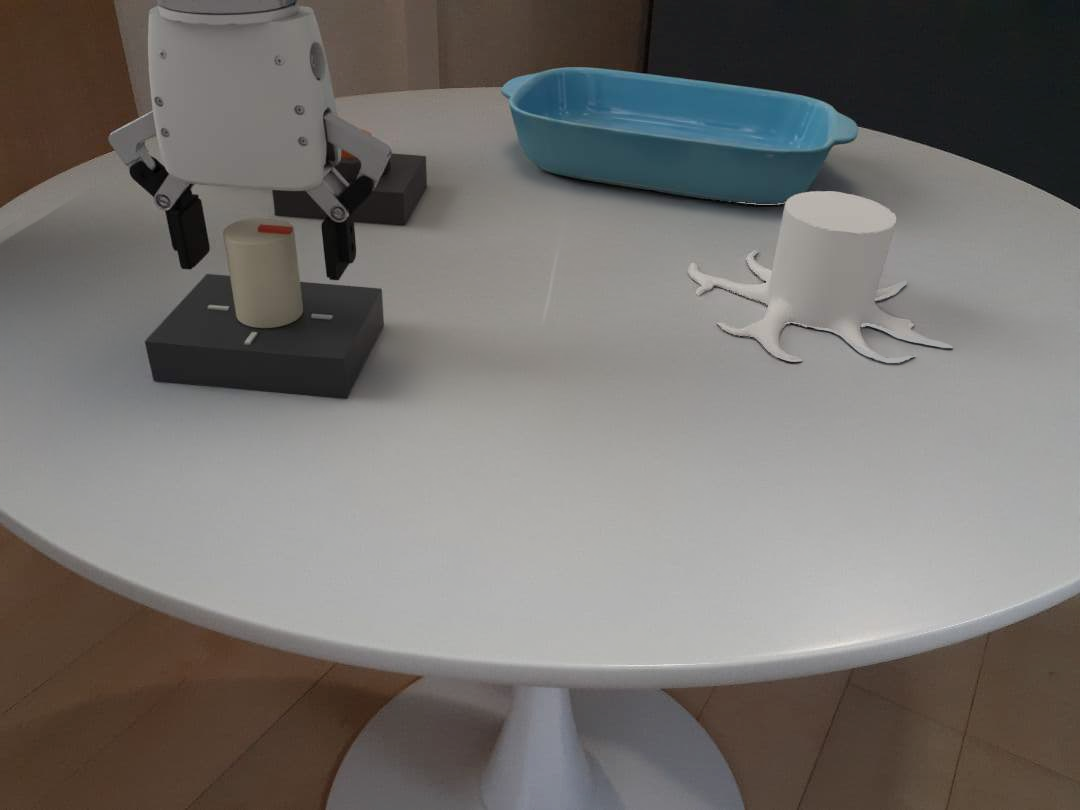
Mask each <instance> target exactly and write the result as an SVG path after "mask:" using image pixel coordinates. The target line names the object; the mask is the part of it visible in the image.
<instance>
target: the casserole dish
mask: <svg viewBox="0 0 1080 810" xmlns="http://www.w3.org/2000/svg"><path fill="white" fill-rule="evenodd" d="M501 94H502V96H503V97H504V98H506V99H508V100H509V101H508V104H509V110H510V113H511V117H512V121H513V125H514V129H515V132H516V136H517V138H518V142H519V145H520V147H521V150H522V151H523V153H524V155H525V156H526V157H527V158H528V159H529V160H530V161H531V162H532V163H534V164H535V166H536V167H538V168H539V170H541V171H545V172H548V173H551V174H554V175H559V176H564V177H568V178H572V179H579V180H584V181H590V182H596V183H600V184H608V185H613V186H618V187H619V186H620V187H627V188H632V189H633V188H634V189H639V190H646V191H655V192H659V193H665V194H670V195H677V196H681V197H682V196H683V197H689V198H696V199H703V200H709V199H711V200H710V201H716V200H720V201H719V202H723V201H731V202H745V203H756V204H778V203H784V202H786V201H787V199H789V198H790V197H793V195H796V194H799V193H805V192H807V190H809V188H810V187H811V186H812V184H813V183H814V181H815V180H816V178H817V176H818V174H819V172H820V171H821V169H822V167H823V166H824V163H825V161H826V159H827V157H828V155H829V153H830V152H831V150H832V148H833V147H834V146H840V145H847V144H851V143H852V142H854V141H855V140H856V139H857V137H858V135H859V127H858V124H857V123H856V121H855V120H853V119H852V118H850V117H849V116H847V115H844V114H842V113H840V112H838V111H837V110H836V109H835V108H834V106H832V105H831V104H829V103H827V102H825V101H823V100H821V99H817V98H814V97H809V96H806V95H801V94H797V93H790V92H784V91H778V90H771V89H766V88H765V89H764V88H759V87H749V86H743V85H734V84H729V83H728V84H727V83H720V82H711V81H704V80H697V79H689V78H682V77H674V76H665V75H659V74H658V75H657V74H651V73H641V72H633V71H627V70H618V69H609V68H608V69H607V68H599V67H582V66H581V67H580V66H579V67H578V66H577V67H576V66H572V67H571V66H570V67H559V68H558V67H557V68H552V69H547V70H543V71H540V72H536V73H530V74H526V75H520V76H517V77H515V78H512V79H510V80H508V81H507V82H505V83H504V84H503V86H502V87H501Z"/></svg>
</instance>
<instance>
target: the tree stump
mask: <svg viewBox="0 0 1080 810" xmlns="http://www.w3.org/2000/svg"><path fill="white" fill-rule="evenodd" d="M896 224H897V216H896V214H895V212H893V211H891V209H890V208H888V207H887V206H886V205H883V204H881V203H879V202H877V201H875V200H872V199H868V198H867V197H863V196H861V195H856V194H852V193H850V194H849V193H845V192H841V191H834V190H827V191H826V190H825V191H821V190H816V191H811V190H810V191H805V192H804V193H799V194H796V195H793V197H790V198H789V199H787V201H786V202H785V204H784V207H783V212H782V216H781V222H780V228H779V232H778V238H777V243H776V247H775V252H774V257H773V262H772V267H771V269H770V268H768V267H765V266H763V265H761V264H760V263H758V262H757V261H756V260H755V257H754V255H755V254H757V253H756V252H758V251H759V250H753V251H751V252H752V253H751V252H749V253H748V254H747V256H746V257H747V258H746V257H745V261H746V260H747V262H746V264H747V263H748V264H747V266H748V265H749V267H750V269H751V270H753V272H755V274H757V275H758V276H760V278H762V279H763V280H765V281H766V283H765V282H763V283H758V284H756V283H755V284H745V283H739V282H736V281H732V280H730V279H727V278H723V277H718V276H714V275H710V274H706V273H703V272H702V271H700V270H699V268H698V264H697V263H696V262H692V263H690V264H689V266H688V270H687V273H688V275H689V277H690V278H691V279H692V280H694V281H695V283H697V284H699V285H700V286H699V287H697V288H696V290H695V291H696V292H695V296H698V297H699V296H701V295H703V294H704V293H705V292H708V291H711V290H713V288H714V287H718V288H721V289H723V290H725V289H726V290H725V291H729V290H730V291H729V292H731V291H732V292H731V293H734V294H735V293H737V294H736V295H738V294H739V295H738V296H740V295H742V296H741V297H743V296H745V297H744V298H746V297H749V298H752V299H754V300H758V301H761V302H763V303H766V304H767V305H768V306H767V305H766V306H767V308H766V310H765V313H764V315H763V316H762V318H761V320H759V321H754V322H752V323H750V324H748V325H747V326H746V327H742V328H738V327H733V326H731V325H728V324H726V323H725V322H722V321H718V322H717V324H718V325H717V324H716V325H717V326H719V327H720V328H721V330H723V331H724V332H726V333H727V332H728V333H727V334H730V335H731V334H733V335H732V336H737V335H738V336H737V337H740V336H746V335H747V336H753V337H756V338H758V339H759V340H760V342H761V343H762V344H763V345H764V346H765V348H766V349H767V350H769V351H770V353H773V355H776V356H779V357H782V358H786V359H791V360H793V359H794V360H795V359H797V358H798V359H800V358H801V357H800V356H796V355H793V354H789V353H787V352H785V351H784V350H782V348H781V347H780V343H779V340H780V334H781V332H782V330H783V329H782V327H783V326H784V325H785V323H787V322H796V323H800V324H804V325H807V326H812V327H819V328H821V327H822V328H829V329H832V330H834V331H837V332H839V333H840V334H841V335H843V336H844V337H846V338H847V339H849V340H851V342H853V343H854V344H856V345H857V346H859V347H861V348H863V349H865V351H870V353H873V352H874V350H873V349H872V348H870V346H869V345H868V344H867V343H866V341H865V339H864V337H863V334H862V332H861V328H860V326H861V324H863V323H870V324H876V325H877V326H882V327H883V328H886V329H888V330H892V331H895V332H897V333H903V335H909V336H913V337H916V336H917V337H921V338H923V336H924V335H923V336H921V335H922V334H920V333H918V332H916V331H914V330H912V329H910V328H909V327H908V324H909V323H911V321H912V320H911V319H906V318H900V317H896V316H893V315H890V314H888V313H887V312H885V311H883V310H882V309H880V308H879V306H878V305H877V304H876V302H875V298H878V297H880V296H882V295H885V294H888V293H890V292H891V291H892V290H893V289H894V287H891V286H888V287H883V288H879V285H880V282H881V278H882V274H883V271H884V267H885V264H886V259H887V256H888V253H889V249H890V245H891V242H892V237H893V234H894V230H895V227H896ZM749 267H748V268H749ZM750 269H749V270H750ZM751 270H750V271H751ZM753 272H752V273H753ZM758 276H757V277H758ZM760 278H759V279H760ZM763 280H762V281H763ZM754 300H753V301H754ZM758 301H757V302H758ZM763 303H762V304H763ZM910 320H911V321H910ZM784 327H785V326H784ZM784 327H783V328H784ZM781 329H782V330H781ZM780 331H781V332H780ZM924 338H925V337H924ZM871 349H872V350H871ZM875 352H876V351H875ZM875 352H874V353H875ZM876 353H877V352H876ZM876 353H875V354H876ZM773 355H772V356H773Z"/></svg>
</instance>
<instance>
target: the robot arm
mask: <svg viewBox="0 0 1080 810" xmlns="http://www.w3.org/2000/svg"><path fill="white" fill-rule="evenodd" d="M156 2H157V5H156V6H154V7H152V8H151V9H149V10H148V25H147V26H148V28H147V59H148V61H147V62H148V77H149V78H148V79H149V87H150V99H151V108H152V110H150V111H148V112H146V113H144V114H143V115H141V116H139V117H137V118H135V119H133V120H131V121H129V122H128V123H126V124H124V125H123V126H120V127H118V128H117V129H115V130H113V131H112V132H111V133H109V135H108V137H107V138H108V143H109V145H110V146H111V147H112V149H113V150H114V152H115V153H116V154H117V156H118V157H119V158H120V160H121V162H122V163H123V164H124V166H127V167H128V172H129V175H130V177H131V178H132V180H133V181H135V182H136V183H137V184H138V185H139V186H140V187H141V188H143V189H144V190H145V191H146V192H147V193H148V194H149V195H151V196H152V197H153V203H154V204H155V206H156V207H157V208H158V209H159V210H162V211H164V212H165V217H166V222H167V227H168V232H169V237H170V241H171V246H172V249H173V250H174V251H175V252H177V256H178V257H177V258H178V261H179V266H180V268H181V269H182V270H193V268H195V267H196V266H197V265H198V264H199V263H200V262H201V261H203V259H204V258H205V257H206V256H207V255H208V254H209V253H210V251H211V246H210V241H209V235H208V230H207V229H208V228H207V223H206V219H205V212H204V207H203V203H202V199H201V198H200V197H199V196H200V195H199V194H197V193H195V194H194V193H193V191H192V190H193V189H194V187H195V185H199V186H209V187H223V188H238V189H251V190H252V189H253V190H266V191H267V190H268V191H272V190H283V191H306V192H307V193H308V194H309V195H310V196H311V198H312V199H313V200H314V201H315V202H316V203H317V204H318V205H319V206H320V207H321V208H322V209H323V211H324V212H325V213H326V214H327V217H326V218H325V219H324V220H323V221H321V227H320V229H321V236H322V246H323V248H322V249H323V257H324V263H325V265H324V266H325V274H326V278H328V279H329V280H331V281H339V280H340V279H341V277H342V276H343V274H344V273H345V271H346V270H347V268H348V266H350V264H353V263H354V261H355V260H356V257H357V241H356V229H355V222H354V217H353V211H354V210H355V209H356V208H357V207H358V206H359V205H360V204H361V203H363V202H364V201H365V200H366V199H367V198H368V197H369V196H370V194H371V193H372V191H373V190H374V189H375V187H376V186H377V184H378V181H379V179H380V177H381V175H382V173H383V171H384V169H385V167H386V165H387V163H388V161H389V159H390V156H391V153H392V148H391V146H390V145H389V144H387V143H386V142H384V141H382V140H380V139H379V138H377V137H375V136H373V135H372V134H371V135H372V136H371V135H370V134H368V133H366V132H364V131H362V130H363V129H362V130H361V128H359V127H358V126H356V125H354V124H353V123H351V122H348V121H347V120H345V119H343V118H341V117H339V116H338V111H337V104H336V100H335V93H334V89H333V83H332V77H331V73H330V68H329V63H328V58H327V54H326V51H325V46H324V43H323V39H322V35H321V31H320V27H319V24H318V21H317V18H316V15H315V12H314V9H313V8H312V7H309V6H304V5H299V3H298V2H299V0H156ZM155 135H156V138H157V139H156V140H157V145H158V148H159V153H160V157H161V161H162V163H163V164H162V163H161V162H160V161H159V160H158V159H156V158H155V157H154V156H152V155H151V154H150V153H149V152H150V151H149V150H148V148H147V146H146V143H145V142H146V140H147V139H150V138H151V137H153V136H155ZM341 149H342V150H344V151H346V152H348V153H349V154H351V155H353V156H355V157H357V158H358V159H359V160H360V162H361V169H360V171H359V174H358V176H357V178H356V179H355V180H354V181H353V182H352V183H351V184H349V183H348V182H347V181H346V180H345V179H344V178H343V177H342V176H341V174H340V173H339V172H338V171H337V170H336V169H335V168H334V167H335V166H336V165H338V164H339V162H340V160H341Z"/></svg>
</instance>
